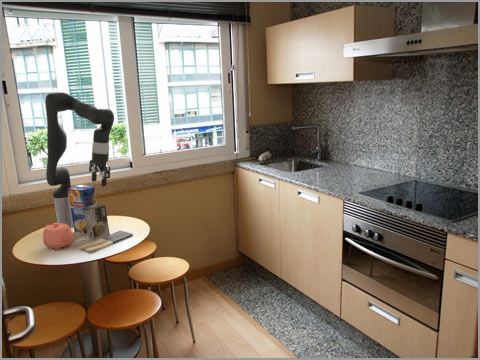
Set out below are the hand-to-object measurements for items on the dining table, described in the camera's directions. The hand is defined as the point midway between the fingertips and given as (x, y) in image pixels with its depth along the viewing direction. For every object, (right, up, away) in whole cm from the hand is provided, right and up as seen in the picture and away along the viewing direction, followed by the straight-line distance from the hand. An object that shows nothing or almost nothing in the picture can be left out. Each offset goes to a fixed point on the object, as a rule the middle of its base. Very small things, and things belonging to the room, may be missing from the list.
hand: (98, 183), depth 190 cm
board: (+3, -29, +3) cm, 29 cm away
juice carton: (-14, -26, +21) cm, 36 cm away
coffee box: (-4, -27, +12) cm, 30 cm away
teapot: (-19, -31, +1) cm, 36 cm away
